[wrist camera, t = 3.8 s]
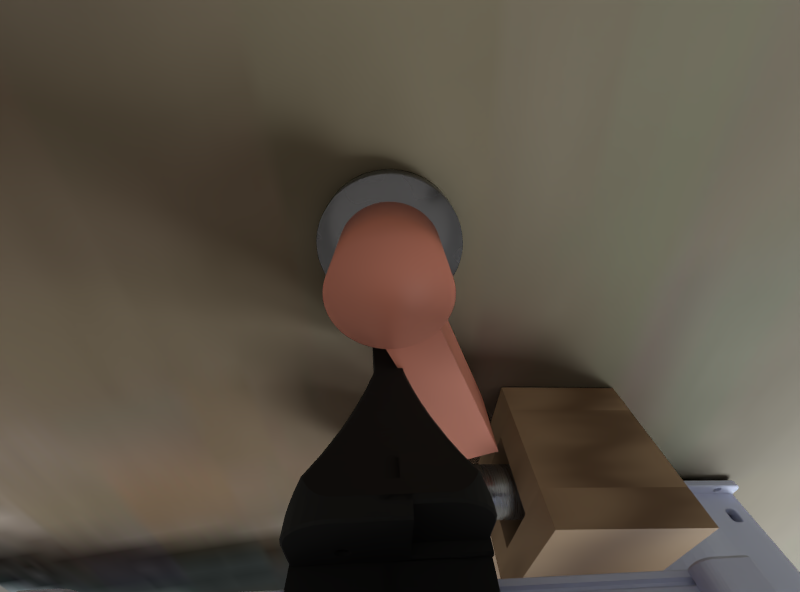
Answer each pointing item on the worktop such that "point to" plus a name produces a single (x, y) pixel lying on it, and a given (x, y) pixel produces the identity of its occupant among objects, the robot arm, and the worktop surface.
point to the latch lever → (408, 314)
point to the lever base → (389, 189)
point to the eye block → (587, 488)
